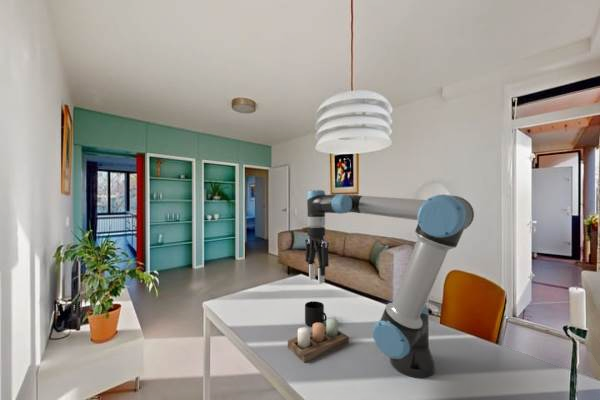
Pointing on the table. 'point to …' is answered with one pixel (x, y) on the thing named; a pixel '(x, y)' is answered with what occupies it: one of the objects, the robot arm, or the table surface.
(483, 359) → the table surface
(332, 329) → the pale green egg
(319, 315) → the mug
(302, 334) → the white egg
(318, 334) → the peach egg
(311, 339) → the wooden tray
